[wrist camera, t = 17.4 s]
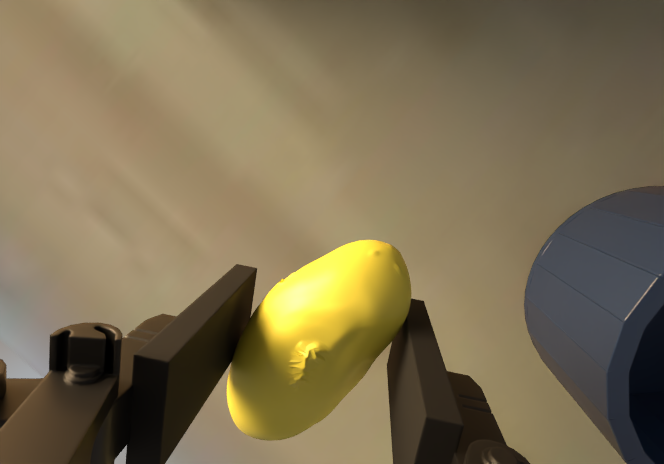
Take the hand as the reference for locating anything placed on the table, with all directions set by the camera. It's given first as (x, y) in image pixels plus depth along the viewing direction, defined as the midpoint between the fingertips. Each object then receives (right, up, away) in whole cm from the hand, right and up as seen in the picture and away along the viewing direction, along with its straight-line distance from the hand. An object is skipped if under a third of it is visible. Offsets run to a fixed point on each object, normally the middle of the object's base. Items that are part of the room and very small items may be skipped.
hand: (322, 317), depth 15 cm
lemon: (0, 0, +1) cm, 1 cm away
